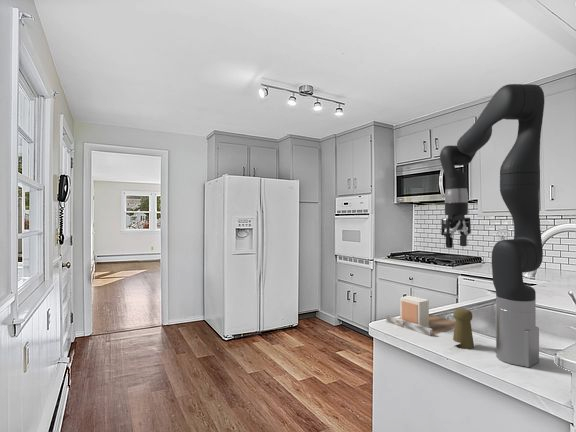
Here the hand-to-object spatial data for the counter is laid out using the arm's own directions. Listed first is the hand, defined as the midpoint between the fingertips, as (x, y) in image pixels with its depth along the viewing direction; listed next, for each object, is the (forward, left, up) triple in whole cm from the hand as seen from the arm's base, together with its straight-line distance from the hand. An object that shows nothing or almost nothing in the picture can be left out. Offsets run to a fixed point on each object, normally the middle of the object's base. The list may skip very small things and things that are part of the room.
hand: (456, 247), depth 128 cm
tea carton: (+6, +16, -26) cm, 31 cm away
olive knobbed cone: (-12, +16, -28) cm, 35 cm away
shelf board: (+5, +11, -28) cm, 31 cm away
